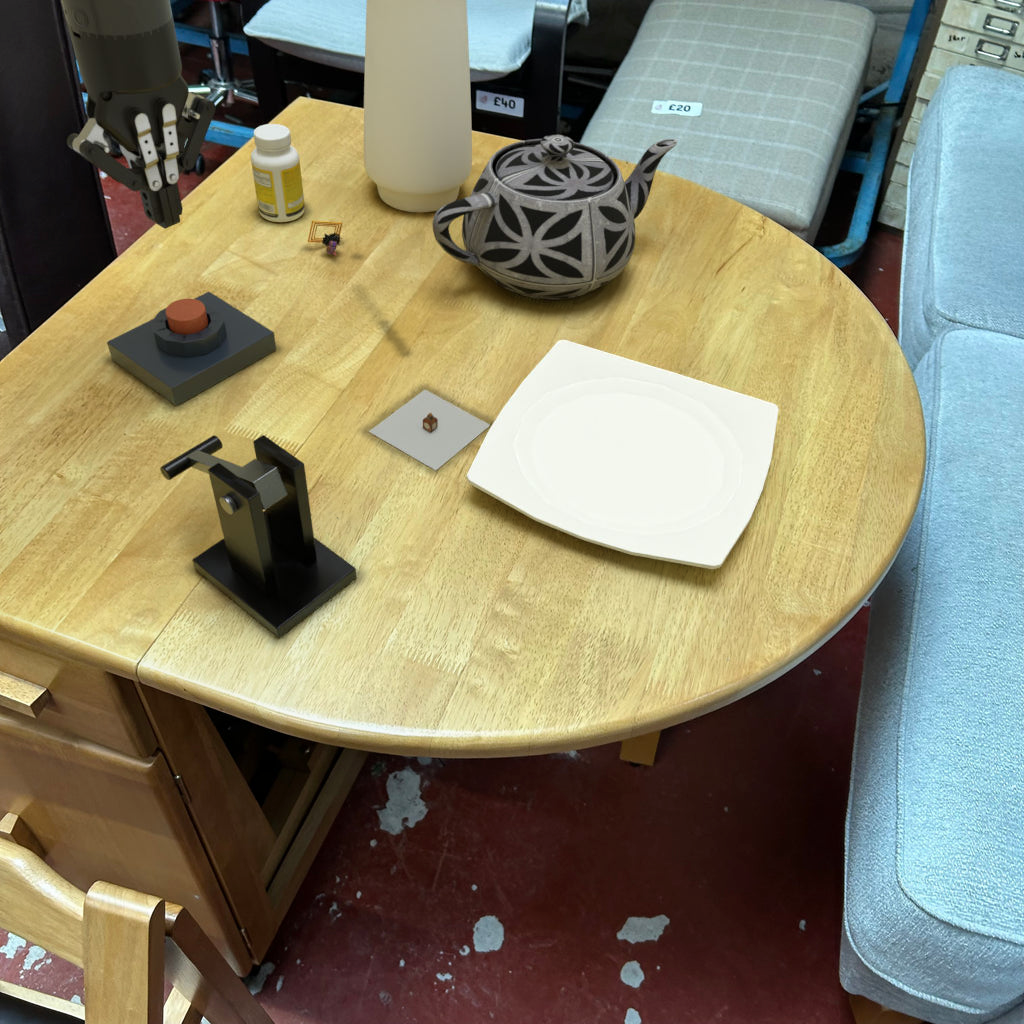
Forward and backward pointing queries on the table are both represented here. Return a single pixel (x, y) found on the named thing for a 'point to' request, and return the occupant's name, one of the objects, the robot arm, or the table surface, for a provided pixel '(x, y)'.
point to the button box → (192, 350)
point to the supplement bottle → (277, 174)
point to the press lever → (252, 473)
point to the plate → (629, 456)
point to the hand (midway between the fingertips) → (166, 222)
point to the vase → (417, 101)
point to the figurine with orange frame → (328, 240)
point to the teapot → (551, 216)
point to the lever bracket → (271, 547)
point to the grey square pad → (429, 429)
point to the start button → (186, 316)
